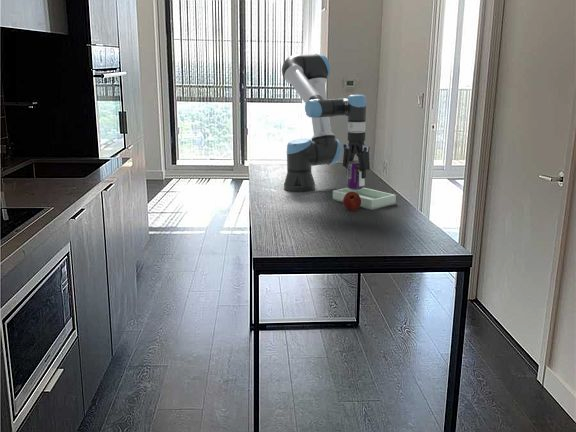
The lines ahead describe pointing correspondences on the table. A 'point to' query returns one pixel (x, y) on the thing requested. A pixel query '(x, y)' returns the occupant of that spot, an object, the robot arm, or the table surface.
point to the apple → (352, 201)
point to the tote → (367, 197)
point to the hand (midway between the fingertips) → (355, 184)
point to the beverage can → (353, 175)
